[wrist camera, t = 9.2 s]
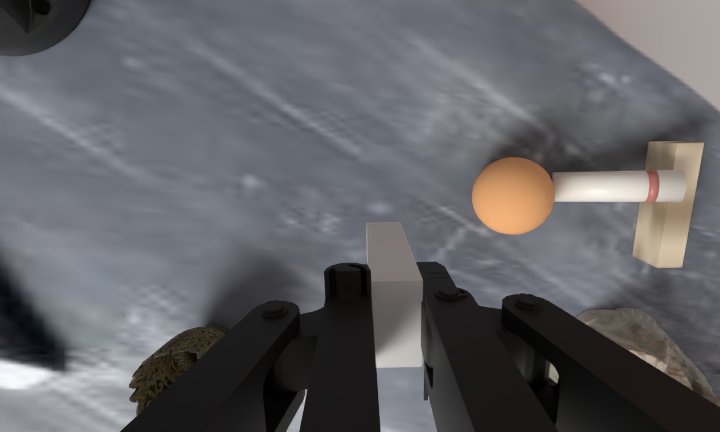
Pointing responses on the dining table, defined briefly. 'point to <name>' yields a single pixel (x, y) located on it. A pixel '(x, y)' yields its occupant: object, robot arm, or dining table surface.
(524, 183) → the ball
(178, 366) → the cup
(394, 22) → the dining table surface
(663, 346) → the ceramic cottage
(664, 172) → the pin
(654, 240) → the stopper rail
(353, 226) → the dining table surface
